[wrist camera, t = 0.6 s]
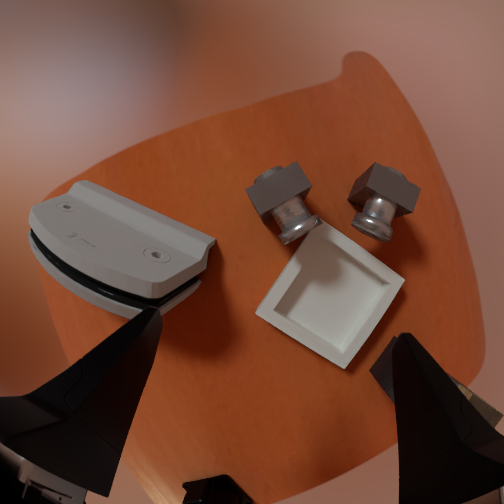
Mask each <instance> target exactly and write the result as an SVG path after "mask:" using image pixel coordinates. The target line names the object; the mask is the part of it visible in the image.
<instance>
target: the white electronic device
mask: <svg viewBox="0 0 504 504" xmlns="http://www.w3.org/2000/svg"><path fill="white" fill-rule="evenodd" d="M29 223H30V226H31V227H32V228H31V230H30V231H29V233H28V237H29V242H30V246H31V249H32V251H33V253H34V255H35V256H36V258H37V260H38V261H39V262H40V264H41V265H42V266H43V267H44V269H45V270H46V271H47V272H48V273H49V274H50V275H51V276H52V277H53V278H54V279H55V280H57V281H58V282H59V283H60V284H61V285H63V286H64V287H65V288H67V289H68V290H70V291H71V292H73V293H74V294H76V295H77V296H79V297H81V298H82V299H84V300H86V301H88V302H90V303H92V304H93V305H95V306H97V307H100V308H102V309H104V310H106V311H109V312H111V313H114V314H117V315H119V316H122V317H125V318H128V319H132V318H133V317H135V316H136V315H137V314H139V313H140V312H141V311H142V310H144V309H145V308H146V307H148V306H152V307H157V308H159V310H160V313H161V316H162V315H164V314H165V313H166V312H168V311H169V310H170V309H172V308H173V307H175V306H176V305H177V304H179V303H180V302H181V301H183V300H184V299H185V298H187V297H188V296H190V295H191V294H192V293H194V292H195V291H196V289H197V288H198V287H199V285H200V284H201V282H202V281H200V280H198V278H199V277H197V276H196V275H198V274H199V273H200V272H202V271H204V270H205V269H206V266H207V259H208V252H209V249H210V248H211V247H212V246H213V245H214V244H215V240H216V239H215V238H213V237H211V236H209V235H206V234H204V233H202V232H200V231H198V230H195V229H193V228H191V227H189V226H187V225H184V224H182V223H180V222H178V221H176V220H173V219H171V218H169V217H167V216H165V215H162V214H160V213H158V212H156V211H154V210H151V209H149V208H147V207H145V206H143V205H140V204H138V203H136V202H134V201H132V200H129V199H127V198H125V197H123V196H121V195H119V194H116V193H114V192H112V191H110V190H108V189H105V188H103V187H101V186H99V185H97V184H94V183H92V182H90V181H88V180H83V181H78V182H75V183H74V185H73V186H72V187H71V189H70V190H69V192H68V193H66V194H64V195H61V196H58V197H55V198H52V199H49V200H47V201H44V202H41V203H39V204H36V205H33V206H32V208H31V212H30V216H29Z"/></svg>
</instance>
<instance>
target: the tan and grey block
mask: <svg viewBox="0 0 504 504" xmlns="http://www.w3.org/2000/svg"><path fill="white" fill-rule="evenodd" d="M396 339H397V337H395V336H394V337H393V338H392V340H391V341H390V343H389V344H388V346H387V347H386V348H385V350H384V351H383V353H382V354H381V355H380V357H379V358H378V359H377V361H376V362H375V363H374V365H373V366H372V367H371V369H370V370H369V371H370V372H371V374H372V375H373V376H374V377H375V379H376V380H377V381H378V383H379V384H380V385H381V387H382V388H383V389H384V391H385V392H386V393H387V395H388V396H389V397H390V399H391V400H392V401H393V403H394V404H395V402H394V393H393V381H392V355H391V350H392V346H393V344H394V343H395V341H396ZM446 374H447V375H448V376H449V377H450V378H451V379H452V381H453V382H454V383H455V384H456V385H457V387H458V388H459V389H460V390H461V392H462V393H463V394H464V395H465V396H466V398H467V399H468V400H469V401H470V402H471V404H472V405H473V406H474V407H475V408H476V409H477V410H478V411H479V413H480V414H481V415H482V416H483V417H484V418H485V419H486V420H487V421H488V422H489V423H490V424H491V425H492V426H493V427H494V428H495V426H496V425H497V424H498V422H499V421H500V419H501V418H502V417H503V414H502V413H500V412H499V411H498V410H496V409H495V408H494V407H492V406H491V405H490V404H488V403H487V402H486V401H484V400H483V399H482V398H480V397H479V396H477V395H476V394H475V393H474V392H472V391H471V390H469V389H468V388H467V387H465V386H464V385H463V384H461V383H460V382H459V381H457V380H456V379H455V378H453V377H452V376H450V375H449V374H448V373H446Z"/></svg>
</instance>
